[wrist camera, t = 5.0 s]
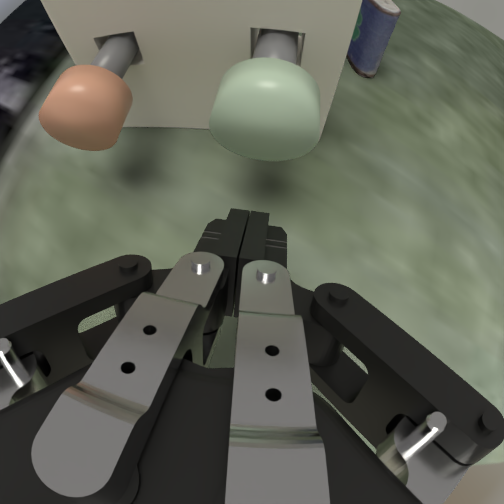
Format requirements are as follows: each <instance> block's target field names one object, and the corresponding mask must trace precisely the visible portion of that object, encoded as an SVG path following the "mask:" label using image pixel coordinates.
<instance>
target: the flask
mask: <svg viewBox="0 0 504 504" xmlns="http://www.w3.org/2000/svg"><path fill="white" fill-rule="evenodd" d="M400 14H401V11H400V9H399V7H398V6H397V5H395V3H394V2H393V1H391V0H362V4H361V7H360V11H359V14H358V18H357V21H356V24H355V28H354V31H353V35H352V38H351V41H350V45H349V48H348V51H347V55H346V57H347V59H348V61H349V63H350V64H351V66H352V68H353V69H354V70H355V71H356V73H358V74H359V75H361V76H363V77H367V76H368V77H372V78H373V76H374V75H375V74H376V72H377V68H378V67H379V64H380V62H381V59H382V56H383V54H384V51H385V49H386V46H387V44H388V41H389V39H390V36H391V34H392V32H393V30H394V27H395V24H396V22H397V19H398V18H399V15H400ZM364 74H366V75H367V76H365V75H364Z"/></svg>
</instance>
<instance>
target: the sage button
mask: <svg viewBox="0 0 504 504" xmlns="http://www.w3.org/2000/svg"><path fill="white" fill-rule="evenodd" d="M298 35H299V32H293V31H285V30H276V29H265V28H260V30H259V34H258V38H257V43H256V47H255V51H254V55H253V59H248V60H244V61H242V62H239V63H237V64H235V65H234V66H232V67H231V68H230V69H228V70H227V71H226V72H225V74H224V75H223V77H222V79H221V81H220V85H219V88H218V91H217V95H216V98H215V102H214V105H213V109H212V112H211V116H210V120H209V128H210V131H211V133H212V135H213V137H214V138H215V139H216V141H217V142H218V143H220V144H221V145H222V146H223V147H225V148H226V149H228V150H230V151H232V152H234V153H236V154H238V155H241V156H244V157H247V158H251V159H256V160H262V161H285V160H291V159H295V158H298V157H301V156H303V155H305V154H307V153H309V152H310V151H311V150H312V149H313V148H314V147H315V146H316V145H317V143H318V141H319V136H320V90H319V87H318V84H317V83H316V81H315V80H314V78H313V77H312V76H311V75H310V74H309V73H308V72H307V71H306V70H304V69H303V68H301V67H299V66H297V65H296V63H297V49H298Z"/></svg>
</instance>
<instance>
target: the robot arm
mask: <svg viewBox="0 0 504 504" xmlns="http://www.w3.org/2000/svg"><path fill="white" fill-rule="evenodd" d="M249 215H250V217H249ZM268 221H269V213H264V212H256V211H251V213H250V211H248V210H240V209H232V208H231V210H230V212H229V214H228V217H227V219H226V220H222V219H215V220H213V221H212V222H210V223H208V225H207V227H206V228H205V230H204V232H203V234H202V237H201V238H200V240H199V242H198V244H197V246H196V248H195V250H194V252H192V253H189V254H186V255H184V256H182V257H181V258H180V259H179V261H178V262H177V263H176V265H175V266H174V268H171V269H159V270H152V267H151V262H150V261H149V260H148V259H147V258H145V257H143V256H140V255H124V256H120V257H117V258H115V259H112V260H109V261H107V262H104V263H102V264H99V265H96V266H94V267H91V268H89V269H86V270H83V271H81V272H78V273H76V274H73V275H71V276H68V277H66V278H63V279H61V280H58V281H56V282H53V283H51V284H48V285H46V286H43V287H41V288H39V289H36V290H34V291H31V292H29V293H26V294H24V295H22V296H19V297H17V298H15V299H12V300H10V301H8V302H5V303H3V304H1V305H0V504H443V503H444V502H445V500H446V499H447V498H448V496H449V495H450V494H451V493H452V491H453V490H454V489H455V487H456V486H457V484H458V483H459V482H460V480H461V479H462V477H463V476H464V474H465V473H466V471H467V470H468V468H469V467H471V466H472V465H474V464H475V463H477V462H478V461H479V460H481V459H482V458H483V457H485V456H486V455H487V454H489V453H490V452H491V451H492V450H494V449H495V448H496V447H498V446H499V445H500V444H501V443H502V441H503V440H504V418H503V416H502V414H501V413H500V411H499V410H498V409H497V408H496V407H495V406H494V405H492V404H491V403H490V402H489V401H488V400H487V399H486V398H484V397H483V396H482V395H481V394H480V393H479V392H477V391H476V390H475V389H474V388H473V387H472V386H470V385H469V384H468V383H467V382H466V381H465V380H463V379H462V378H461V377H460V376H459V375H457V374H456V373H455V372H454V371H453V370H452V369H450V368H449V367H448V366H447V365H446V364H444V363H443V362H442V361H441V360H440V359H438V358H437V357H436V356H435V355H434V354H432V353H431V352H430V351H429V350H427V349H426V348H425V347H424V346H423V345H421V344H420V343H419V342H418V341H416V340H415V339H414V338H413V337H412V336H410V335H409V334H408V333H407V332H405V331H404V330H403V329H402V328H400V327H399V326H398V325H397V324H395V323H394V322H393V321H392V320H390V319H389V318H388V317H387V316H385V315H384V314H383V313H382V312H380V311H379V310H378V309H377V308H375V307H374V306H373V305H371V304H370V303H369V302H368V301H366V300H365V299H364V298H363V297H361V296H360V295H359V294H357V293H356V292H355V291H354V290H352V289H351V288H349V287H347V286H344V285H341V284H337V283H325V284H322V285H320V286H318V287H317V288H316V289H315V291H314V292H313V291H310V290H307V289H305V288H302V287H300V286H298V285H297V284H295V283H294V282H293V281H292V280H291V279H290V275H289V272H288V270H287V234H286V233H285V231H284V230H283V229H282V227H276V226H269V225H268ZM234 304H235V308H234ZM113 305H114V308H115V312H116V316H117V317H115V318H113V319H111V320H108V321H106V322H104V323H102V324H100V325H98V326H95V327H93V328H91V329H89V330H87V331H84V332H82V333H78V325H79V323H80V322H81V321H82V320H83V319H85V318H87V317H89V316H91V315H93V314H95V313H98V312H100V311H102V310H104V309H107V308H109V307H111V306H113ZM233 309H234V317H238V322H237V332H236V343H235V355H234V367H233V368H215V369H211V368H208V366H209V363H210V361H211V358H212V355H213V352H214V349H215V347H216V344H217V341H218V338H219V335H220V332H221V325H222V323H223V319H224V315H225V316H232V313H233ZM344 346H345V347H346V348H347V349H348V350H349V351H350V352H352V353H353V354H354V355H355V356H356V357H357V358H358V359H359V360H360V361H361V362H362V363H363V364H364V365H365V366H366V368H367V370H368V374H367V373H366V372H365V371H363V370H362V369H361V368H360V367H359V366H358V365H357V364H356V363H355V362H354V361H353V360H352V359H351V358H350V357H348V356H347V355H346V354H345V353H344V352H343V351H342V350H343V348H344ZM311 382H312V383H313V384H314V385H315V386H316V387H317V388H318V390H319V391H320V392H321V393H322V394H323V395H324V396H325V397H326V398H327V399H328V400H329V401H330V402H331V403H332V404H333V405H334V406H335V407H336V408H337V409H338V411H339V412H340V413H341V414H342V415H343V416H344V417H345V418H346V419H347V420H348V421H349V422H350V423H351V424H352V425H353V426H354V427H355V428H356V429H357V430H358V431H359V432H360V433H361V434H362V435H363V436H364V437H365V438H366V439H367V440H368V441H369V442H370V443H371V444H372V445H373V446H374V447H375V448H376V449H377V450H376V454H375V453H374V452H373V451H372V450H371V449H370V448H369V447H368V446H367V445H366V444H365V442H364V441H363V440H362V439H361V438H360V437H359V436H358V435H357V434H356V433H355V432H354V430H353V429H352V428H351V427H350V426H349V425H348V424H347V423H346V422H345V421H344V419H343V418H342V417H341V416H340V415H339V414H338V413H337V412H336V410H335V409H334V408H333V407H332V406H331V405H330V404H329V403H328V402H326V401H325V400H324V399H323V398H322V397H320V396H319V395H317V394H316V393H314V392H312V386H311Z"/></svg>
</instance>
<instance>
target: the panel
mask: <svg viewBox="0 0 504 504" xmlns="http://www.w3.org/2000/svg"><path fill="white" fill-rule="evenodd" d="M41 2H42V4H43V6H44V8H45V10H46V12H47V13H48V15H49V17H50V19H51V21H52V23H53V25H54V27H55V28H56V30H57V32H58V34H59V36H60V38H61V39H62V41H63V43H64V45H65V47H66V49H67V50H68V52H69V54H70V56H71V57H72V59H73V61H74V63H75V64H76V65H90V64H91V63H92V61H93V59H94V58H95V56H96V55H97V53H98V52H99V50H100V49H101V48H102V46H103V45H104V43H105V42H106V40H107V39H108V38H109V36H110V35H112V34H119V33H125V32H132V31H133V32H134V34H135V37H136V40H137V43H138V46H139V51H138V52H137V54H136V56H135V57H134V59H133V61H132V62H131V64H130V66H129V68H128V70H127V71H126V73H125V75H124V77H123V79H122V80H123V81H124V82H125V83H126V84H127V85H128V87H129V89H130V90H131V93H132V97H133V102H132V106H131V108H130V110H129V112H128V115H127V117H126V119H125V122H124V124H123V127H174V128H197V129H210V128H209V120H210V116H211V112H212V109H213V105H214V102H215V98H216V95H217V91H218V88H219V85H220V81H221V79H222V77H223V75H224V74H225V72H226V71H227V70H228V69H230V68H231V67H232V66H234V65H235V64H237V63H239V62H242V61H244V60H248V59H253V55H254V51H255V47H256V43H257V38H258V34H259V28H265V29H276V30H285V31H293V32H301V33H302V36H298V49H297V63H296V65H297V66H299V67H301V68H303V69H304V70H306V71H307V72H308V73H309V74H310V75H311V76H312V77H313V78H314V80H315V81H316V83H317V84H318V87H319V90H320V136H319V140H320V137H321V134H322V131H323V128H324V125H325V122H326V119H327V116H328V113H329V109H330V106H331V103H332V100H333V97H334V94H335V91H336V87H337V84H338V81H339V78H340V74H341V71H342V68H343V65H344V61H345V58H346V55H347V51H348V48H349V45H350V41H351V38H352V35H353V31H354V28H355V24H356V21H357V18H358V14H359V11H360V7H361V4H362V0H41ZM318 142H319V141H318Z"/></svg>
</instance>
